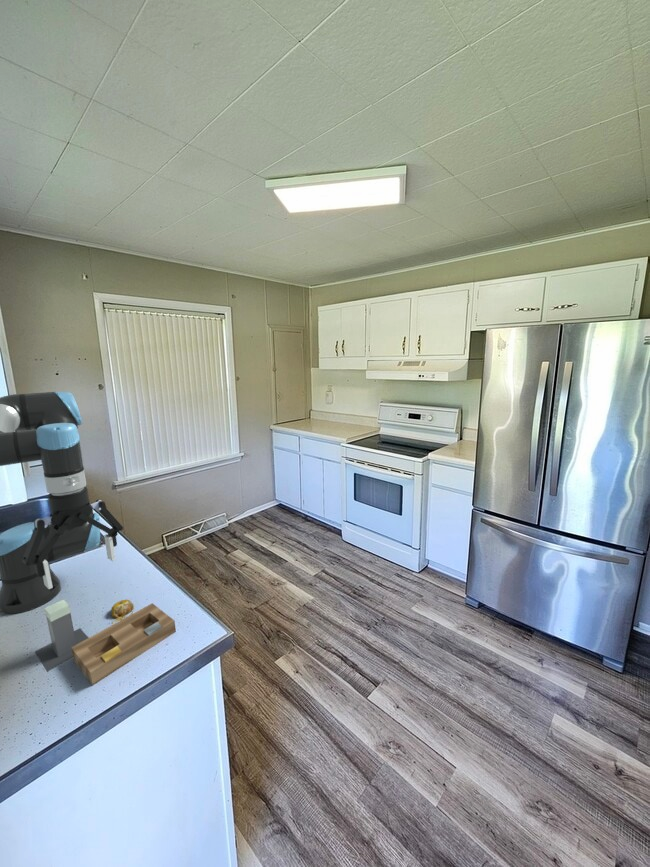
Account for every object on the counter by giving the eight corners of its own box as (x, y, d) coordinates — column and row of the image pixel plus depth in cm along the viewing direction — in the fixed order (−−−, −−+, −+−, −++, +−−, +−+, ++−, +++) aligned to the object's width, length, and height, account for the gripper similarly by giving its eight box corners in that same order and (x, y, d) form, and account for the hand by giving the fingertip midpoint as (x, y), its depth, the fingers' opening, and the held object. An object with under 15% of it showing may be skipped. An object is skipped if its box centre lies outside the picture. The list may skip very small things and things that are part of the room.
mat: (35, 653, 89) (34, 651, 89) (80, 629, 97) (80, 628, 97) (47, 673, 83) (47, 671, 83) (94, 646, 91) (94, 644, 91)
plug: (53, 649, 90) (44, 607, 88) (71, 639, 93) (63, 599, 91) (58, 657, 87) (49, 614, 85) (76, 646, 91) (69, 605, 88)
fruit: (116, 630, 97) (114, 618, 97) (102, 617, 102) (101, 606, 101) (145, 612, 104) (144, 601, 103) (132, 602, 109) (130, 591, 108)
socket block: (73, 661, 87) (71, 646, 86) (153, 615, 102) (152, 602, 101) (93, 687, 80) (90, 671, 79) (176, 633, 95) (174, 619, 94)
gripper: (2, 512, 70) (22, 606, 74) (130, 478, 90) (140, 553, 94) (-9, 504, 74) (11, 593, 79) (116, 473, 94) (126, 545, 98)
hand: (82, 572), depth 86 cm, fingers open, 13 cm apart
